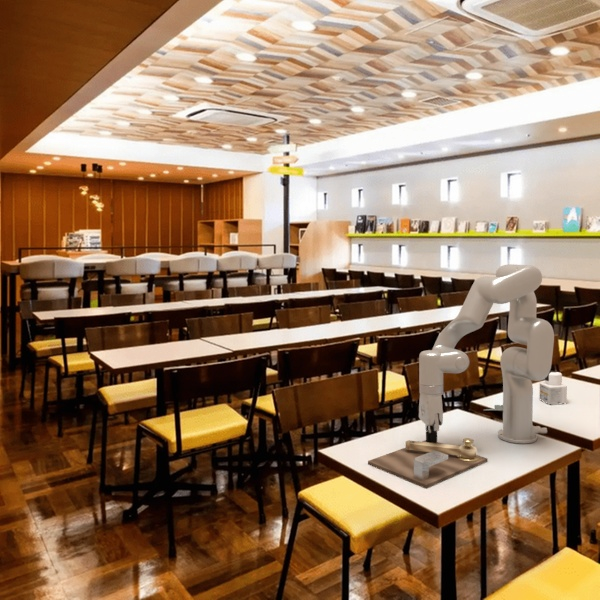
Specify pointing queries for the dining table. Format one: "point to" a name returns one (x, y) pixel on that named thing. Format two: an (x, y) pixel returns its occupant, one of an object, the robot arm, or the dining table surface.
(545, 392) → the container
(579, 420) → the dining table surface
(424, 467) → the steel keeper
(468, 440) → the brass pin
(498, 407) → the metal bracket
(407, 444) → the arm link
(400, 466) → the walnut board
